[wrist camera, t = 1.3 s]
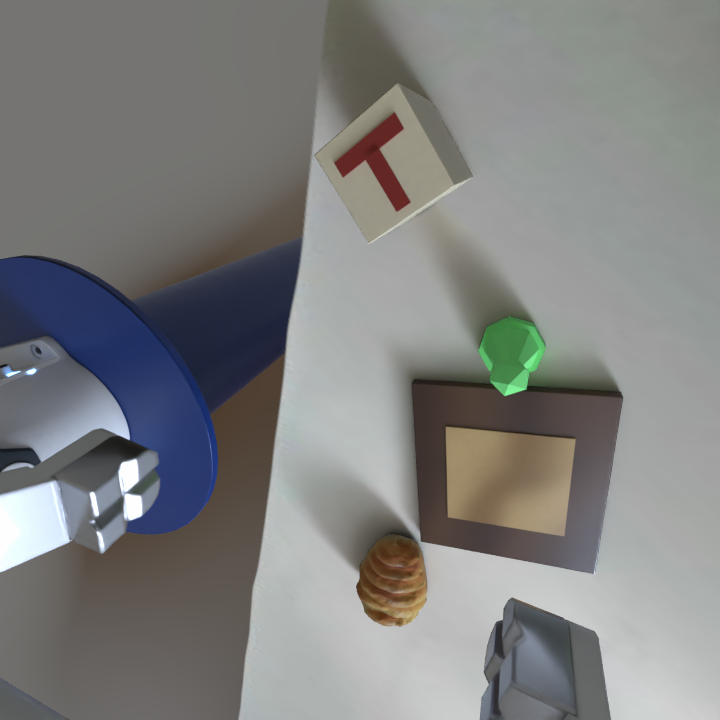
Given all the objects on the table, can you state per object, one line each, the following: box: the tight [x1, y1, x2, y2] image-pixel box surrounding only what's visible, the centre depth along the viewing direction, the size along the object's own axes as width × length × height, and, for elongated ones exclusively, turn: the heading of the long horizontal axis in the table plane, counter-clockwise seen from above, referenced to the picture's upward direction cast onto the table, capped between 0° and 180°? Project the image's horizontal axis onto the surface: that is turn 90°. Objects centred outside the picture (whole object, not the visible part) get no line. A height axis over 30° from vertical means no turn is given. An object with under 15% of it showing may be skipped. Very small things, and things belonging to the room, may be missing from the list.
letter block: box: [315, 83, 473, 243], centre depth 24 cm, size 5×5×8 cm
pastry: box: [356, 534, 427, 627], centre depth 41 cm, size 9×7×4 cm
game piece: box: [478, 316, 546, 396], centre depth 28 cm, size 4×4×6 cm
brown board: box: [412, 379, 623, 574], centre depth 34 cm, size 14×16×1 cm
